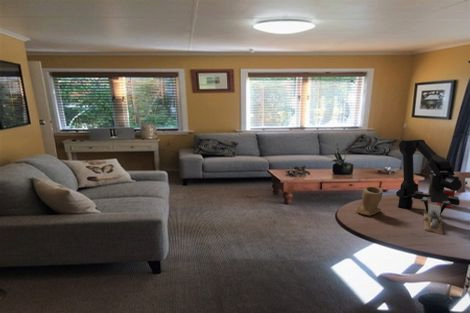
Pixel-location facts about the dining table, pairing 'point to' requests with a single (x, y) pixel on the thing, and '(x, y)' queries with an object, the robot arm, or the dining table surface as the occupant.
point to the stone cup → (370, 201)
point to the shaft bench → (427, 224)
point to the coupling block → (434, 211)
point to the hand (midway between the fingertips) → (433, 213)
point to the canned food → (451, 193)
